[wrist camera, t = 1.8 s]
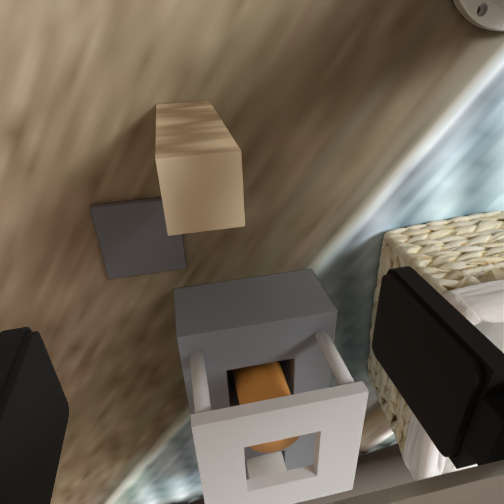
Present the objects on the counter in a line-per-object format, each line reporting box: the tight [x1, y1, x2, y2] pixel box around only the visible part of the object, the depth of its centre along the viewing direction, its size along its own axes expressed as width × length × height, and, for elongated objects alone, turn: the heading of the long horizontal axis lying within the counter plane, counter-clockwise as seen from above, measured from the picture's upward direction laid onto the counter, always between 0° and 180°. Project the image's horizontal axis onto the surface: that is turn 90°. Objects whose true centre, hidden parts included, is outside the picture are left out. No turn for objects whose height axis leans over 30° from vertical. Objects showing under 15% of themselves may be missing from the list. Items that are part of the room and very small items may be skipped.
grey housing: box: [174, 269, 369, 504], centre depth 40 cm, size 26×14×14 cm, turn 2°
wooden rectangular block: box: [155, 100, 245, 236], centre depth 25 cm, size 4×4×14 cm
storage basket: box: [367, 211, 504, 481], centre depth 40 cm, size 24×16×15 cm
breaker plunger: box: [232, 361, 300, 453], centre depth 37 cm, size 5×5×8 cm
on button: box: [245, 451, 287, 480], centre depth 44 cm, size 4×4×7 cm
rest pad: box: [90, 198, 186, 279], centre depth 35 cm, size 7×7×1 cm
